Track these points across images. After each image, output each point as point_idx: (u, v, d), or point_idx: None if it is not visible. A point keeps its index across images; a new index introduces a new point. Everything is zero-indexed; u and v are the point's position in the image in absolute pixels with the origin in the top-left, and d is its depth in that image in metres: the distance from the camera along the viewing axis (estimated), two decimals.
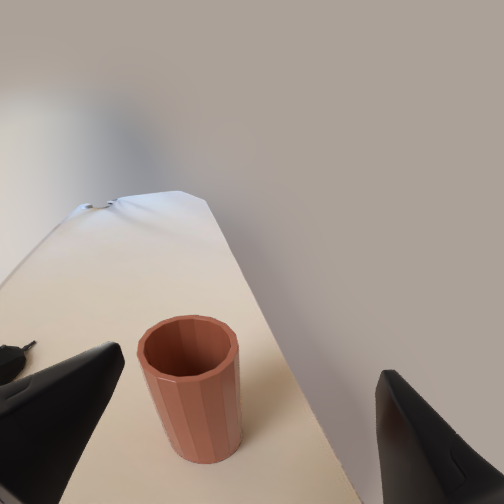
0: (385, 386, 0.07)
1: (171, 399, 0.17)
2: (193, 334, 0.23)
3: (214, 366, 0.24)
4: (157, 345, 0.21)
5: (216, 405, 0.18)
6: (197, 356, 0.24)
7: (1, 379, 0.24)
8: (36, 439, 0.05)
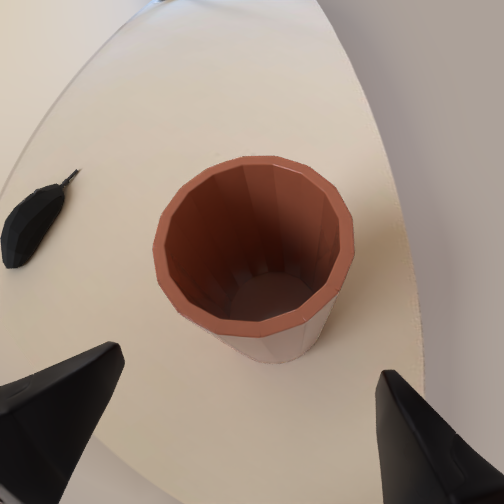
0: (385, 385, 0.07)
1: (211, 334, 0.11)
2: (272, 188, 0.13)
3: (302, 237, 0.15)
4: (202, 210, 0.13)
5: (290, 343, 0.11)
6: (275, 218, 0.15)
7: (34, 234, 0.26)
8: (36, 439, 0.05)
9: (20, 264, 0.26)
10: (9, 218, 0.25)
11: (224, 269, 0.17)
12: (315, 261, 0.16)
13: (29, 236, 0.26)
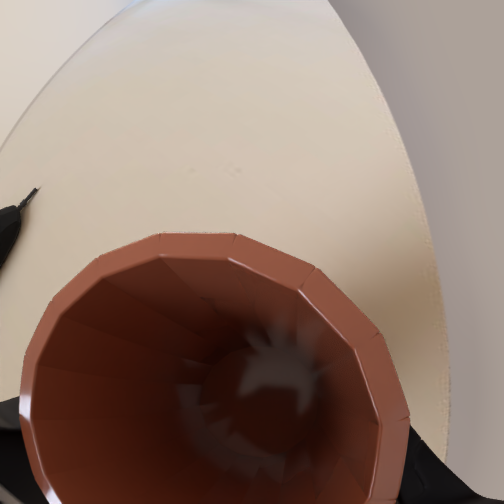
0: None
1: None
2: (236, 289, 0.06)
3: (299, 342, 0.09)
4: (106, 328, 0.06)
5: None
6: (252, 316, 0.08)
7: None
8: None
9: None
10: None
11: (180, 366, 0.11)
12: (318, 369, 0.09)
13: None
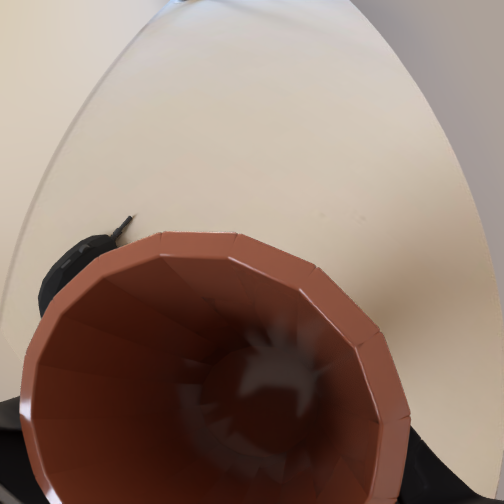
0: None
1: None
2: (236, 289, 0.06)
3: (299, 342, 0.09)
4: (107, 327, 0.06)
5: None
6: (253, 316, 0.08)
7: None
8: None
9: None
10: (50, 284, 0.22)
11: (180, 365, 0.11)
12: (318, 369, 0.09)
13: None
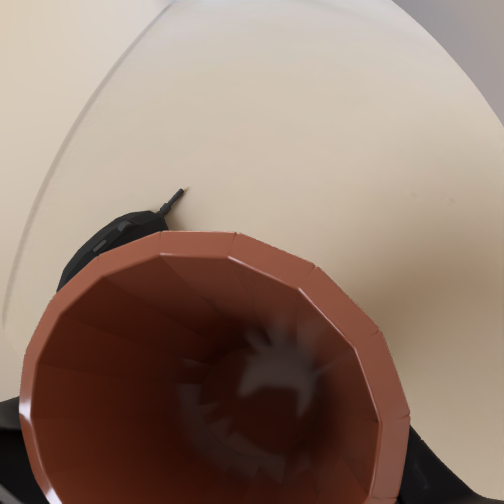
0: None
1: None
2: (236, 288, 0.06)
3: (299, 342, 0.09)
4: (106, 327, 0.06)
5: None
6: (252, 315, 0.08)
7: None
8: None
9: None
10: (76, 273, 0.17)
11: (180, 365, 0.11)
12: (318, 368, 0.09)
13: None
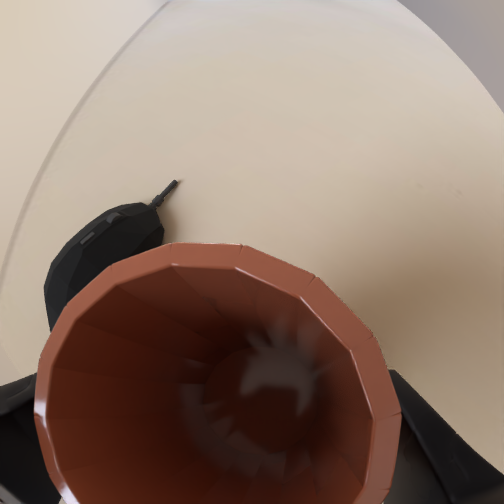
0: None
1: None
2: (241, 295, 0.07)
3: (299, 343, 0.09)
4: (117, 331, 0.06)
5: None
6: (255, 319, 0.09)
7: None
8: (36, 439, 0.05)
9: None
10: (63, 267, 0.16)
11: (185, 366, 0.11)
12: (317, 369, 0.10)
13: None
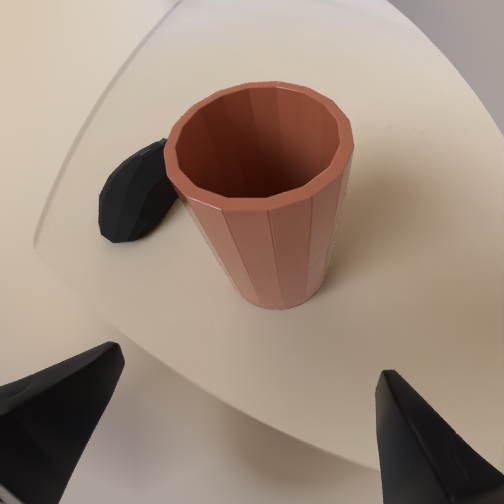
0: (385, 386, 0.07)
1: (217, 233, 0.11)
2: (275, 113, 0.13)
3: (305, 167, 0.15)
4: (210, 130, 0.13)
5: (296, 248, 0.11)
6: (279, 148, 0.15)
7: (167, 195, 0.23)
8: (36, 439, 0.05)
9: (140, 236, 0.23)
10: (124, 172, 0.22)
11: None
12: None
13: (162, 197, 0.23)
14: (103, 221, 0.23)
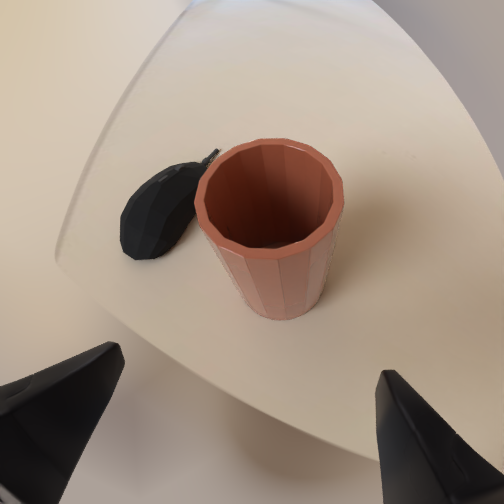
0: (385, 386, 0.07)
1: (237, 269, 0.14)
2: (282, 163, 0.16)
3: (306, 205, 0.19)
4: (229, 179, 0.16)
5: (298, 278, 0.15)
6: (284, 189, 0.18)
7: (183, 218, 0.26)
8: (36, 439, 0.05)
9: (160, 254, 0.26)
10: (144, 196, 0.25)
11: (241, 234, 0.21)
12: (316, 226, 0.20)
13: (179, 220, 0.26)
14: (125, 240, 0.26)
